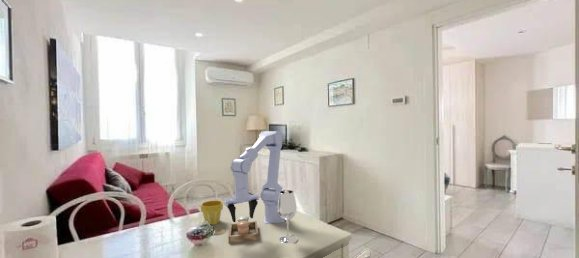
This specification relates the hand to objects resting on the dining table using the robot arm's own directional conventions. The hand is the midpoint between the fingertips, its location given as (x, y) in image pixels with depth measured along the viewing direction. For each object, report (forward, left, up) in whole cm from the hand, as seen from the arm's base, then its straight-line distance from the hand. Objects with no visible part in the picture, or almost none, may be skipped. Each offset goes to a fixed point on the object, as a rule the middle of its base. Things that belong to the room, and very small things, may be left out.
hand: (242, 219), depth 113 cm
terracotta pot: (0, 0, -8) cm, 8 cm away
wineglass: (-18, +6, -8) cm, 21 cm away
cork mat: (+11, -9, -8) cm, 16 cm away
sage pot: (0, -6, -8) cm, 10 cm away
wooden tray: (0, -3, -8) cm, 9 cm away
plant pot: (+15, -22, -8) cm, 27 cm away
